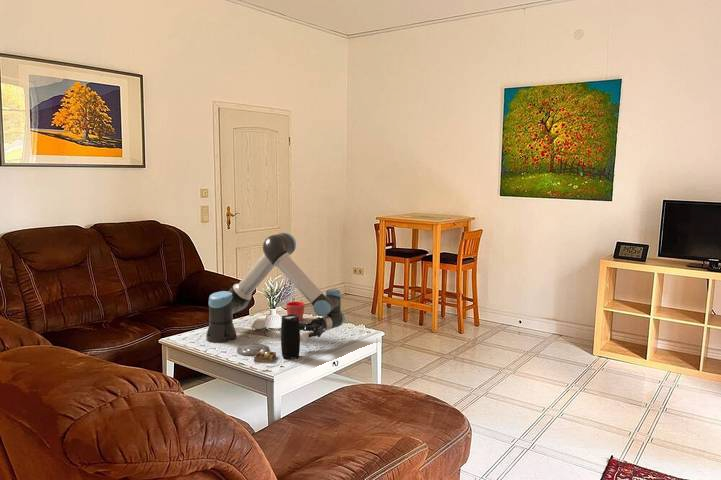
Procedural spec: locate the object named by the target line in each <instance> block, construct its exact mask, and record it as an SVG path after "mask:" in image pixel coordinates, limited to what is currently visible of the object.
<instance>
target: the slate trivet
mask: <svg viewBox="0 0 721 480" xmlns="http://www.w3.org/2000/svg"><path fill="white" fill-rule="evenodd" d="M262 349H264V350H266V352H270V351H269V350H270V348H269V346H268V345H266V344H261V343H260V344H259V343H250V344H245V345H241V346H238V347H237V348H236V353H237V354H238V355H239V356H244V357H254V356H255V355H256V354H257V353H258V352H259V351H261V350H262Z"/></svg>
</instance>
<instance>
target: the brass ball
mask: <svg viewBox="0 0 721 480" xmlns="http://www.w3.org/2000/svg"><path fill="white" fill-rule="evenodd" d="M270 352H271V351H268V352H265V353H264V357H270V356H271V354H270Z"/></svg>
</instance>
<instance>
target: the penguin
mask: <svg viewBox="0 0 721 480" xmlns="http://www.w3.org/2000/svg"><path fill="white" fill-rule="evenodd" d="M265 318H266V315H262V316H257V317H256V318H254V319H253V322H252V323H251V325H250V328H251V330H253V331H254V330H262V329H265Z"/></svg>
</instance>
